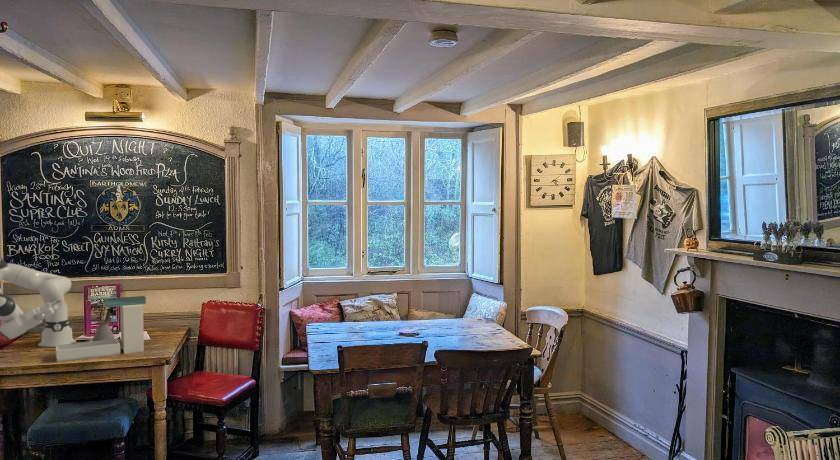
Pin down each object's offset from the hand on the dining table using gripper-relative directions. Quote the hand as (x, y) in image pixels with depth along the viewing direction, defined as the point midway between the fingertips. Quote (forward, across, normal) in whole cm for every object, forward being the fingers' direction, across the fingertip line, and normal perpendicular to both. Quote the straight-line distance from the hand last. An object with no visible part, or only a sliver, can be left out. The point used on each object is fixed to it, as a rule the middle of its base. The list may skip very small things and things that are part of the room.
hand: (60, 302), depth 325 cm
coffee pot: (+6, +31, +38) cm, 50 cm away
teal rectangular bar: (+25, 0, +19) cm, 32 cm away
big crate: (-4, 0, +33) cm, 33 cm away
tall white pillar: (+15, 0, +43) cm, 46 cm away
